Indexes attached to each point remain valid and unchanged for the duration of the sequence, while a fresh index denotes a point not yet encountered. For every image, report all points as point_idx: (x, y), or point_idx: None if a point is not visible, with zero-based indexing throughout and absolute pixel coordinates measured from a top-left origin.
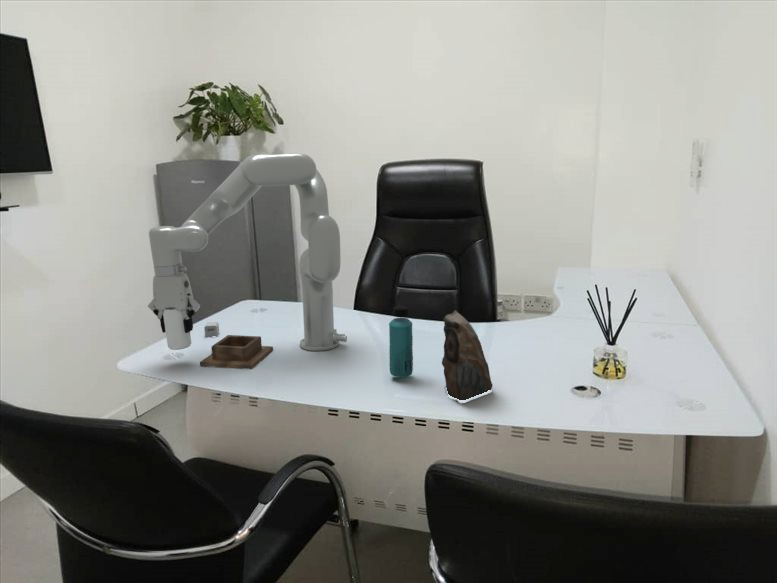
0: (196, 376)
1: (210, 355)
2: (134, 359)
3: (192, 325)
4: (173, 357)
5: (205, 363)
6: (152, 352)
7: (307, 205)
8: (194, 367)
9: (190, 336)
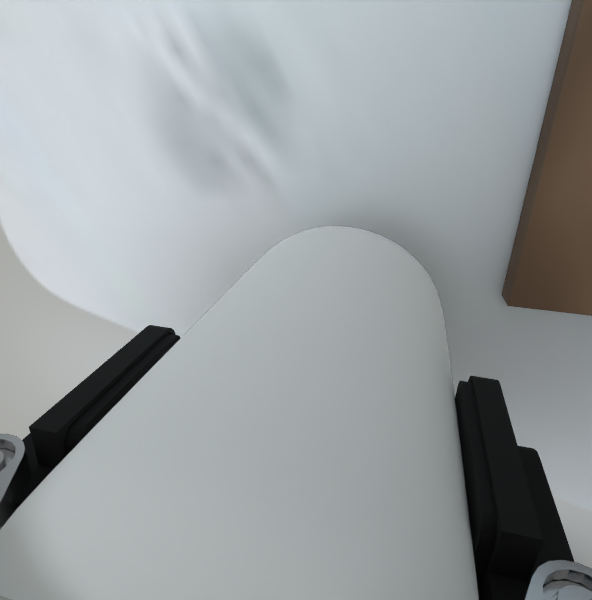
0: (532, 447)
1: (558, 160)
2: (20, 200)
3: (538, 473)
4: (232, 141)
5: (552, 307)
6: (27, 50)
7: None
8: (468, 318)
9: (444, 331)
